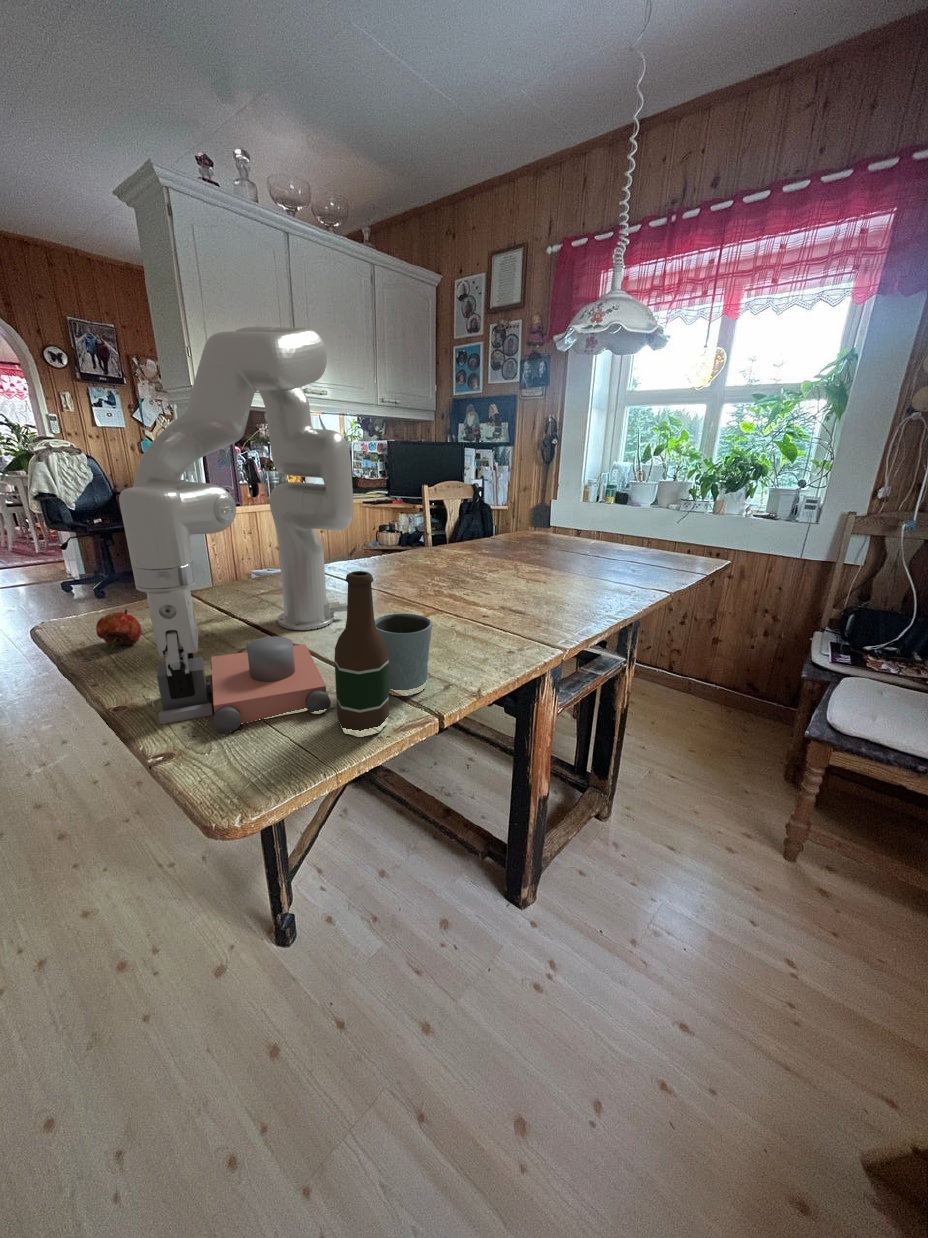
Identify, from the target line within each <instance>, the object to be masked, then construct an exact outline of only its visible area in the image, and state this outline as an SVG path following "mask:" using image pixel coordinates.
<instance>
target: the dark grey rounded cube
mask: <svg viewBox="0 0 928 1238" xmlns="http://www.w3.org/2000/svg"><path fill="white" fill-rule="evenodd" d="M180 661H183V663H184V660H180ZM188 663H189V671H191V670H192V676H193V682H194V688H195V695H194V696H191V697H185V698H178V699H171V697H170V692H169V687H168V681H167V676H166V675H167V667H166V661H162V662H159V663H158V667H157V672H156V679H157V685H158V689H159V691H158V692H159V695H160V700H161V706H162V711H166V710H172V709H178V708H184V707H190V706H195V705H201V704H207V703H210V702H209V693H208V690H207V684H206V682H207V678H206V672H205V665H204V660H203V656H199V657H198V656H197V657H193V658H190V659H188Z"/></svg>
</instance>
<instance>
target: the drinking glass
mask: <svg viewBox="0 0 928 1238" xmlns="http://www.w3.org/2000/svg"><path fill="white" fill-rule="evenodd" d="M374 620H375V625H376V629H377V630H378V632H379V633H380V634H381V636H382V637H383V638H384V641H385V643H386V646H387V648H388V659H389V689H393V690H409V689H413V688H417V687H419V686H421V685H423V684H424V683H425V682H426V680H427V681H428V673H429V672H428V670H429V669H428V667H429V666H428V665H429V660H430V658H429V654H430V646H431V645H430V644H431V639H432V637H431V636H432V631H433V630H432V628H433V622H432V620H430V619H429V618H427V617H426V616H424V615H423V616H422V615H419V614H415V613H414V614H413V613H393V614H385V615H382V616H380V617H378V618H376V619H374Z"/></svg>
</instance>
